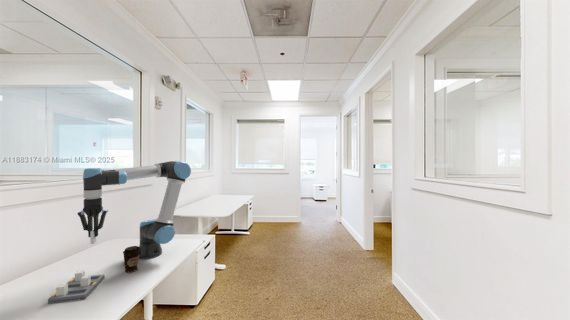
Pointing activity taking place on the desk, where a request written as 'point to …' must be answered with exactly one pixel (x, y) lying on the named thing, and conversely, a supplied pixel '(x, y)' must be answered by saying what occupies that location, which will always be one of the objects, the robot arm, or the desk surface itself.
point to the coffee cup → (131, 258)
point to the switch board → (77, 290)
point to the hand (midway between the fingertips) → (93, 243)
